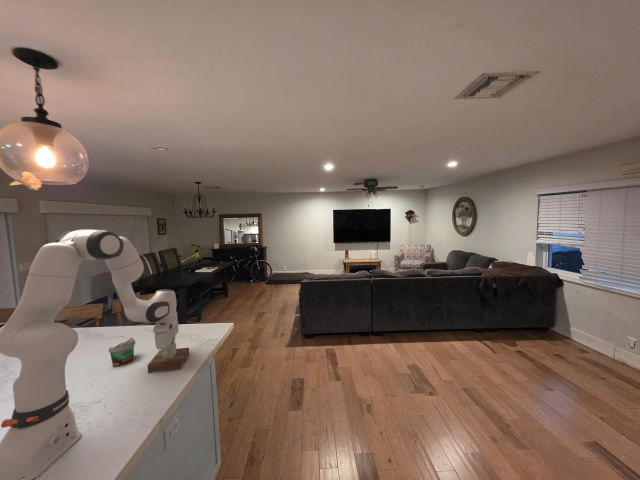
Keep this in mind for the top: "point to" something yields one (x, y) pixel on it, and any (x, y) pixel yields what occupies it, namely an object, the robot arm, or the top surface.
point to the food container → (122, 353)
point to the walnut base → (168, 361)
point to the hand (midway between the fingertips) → (169, 349)
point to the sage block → (170, 351)
